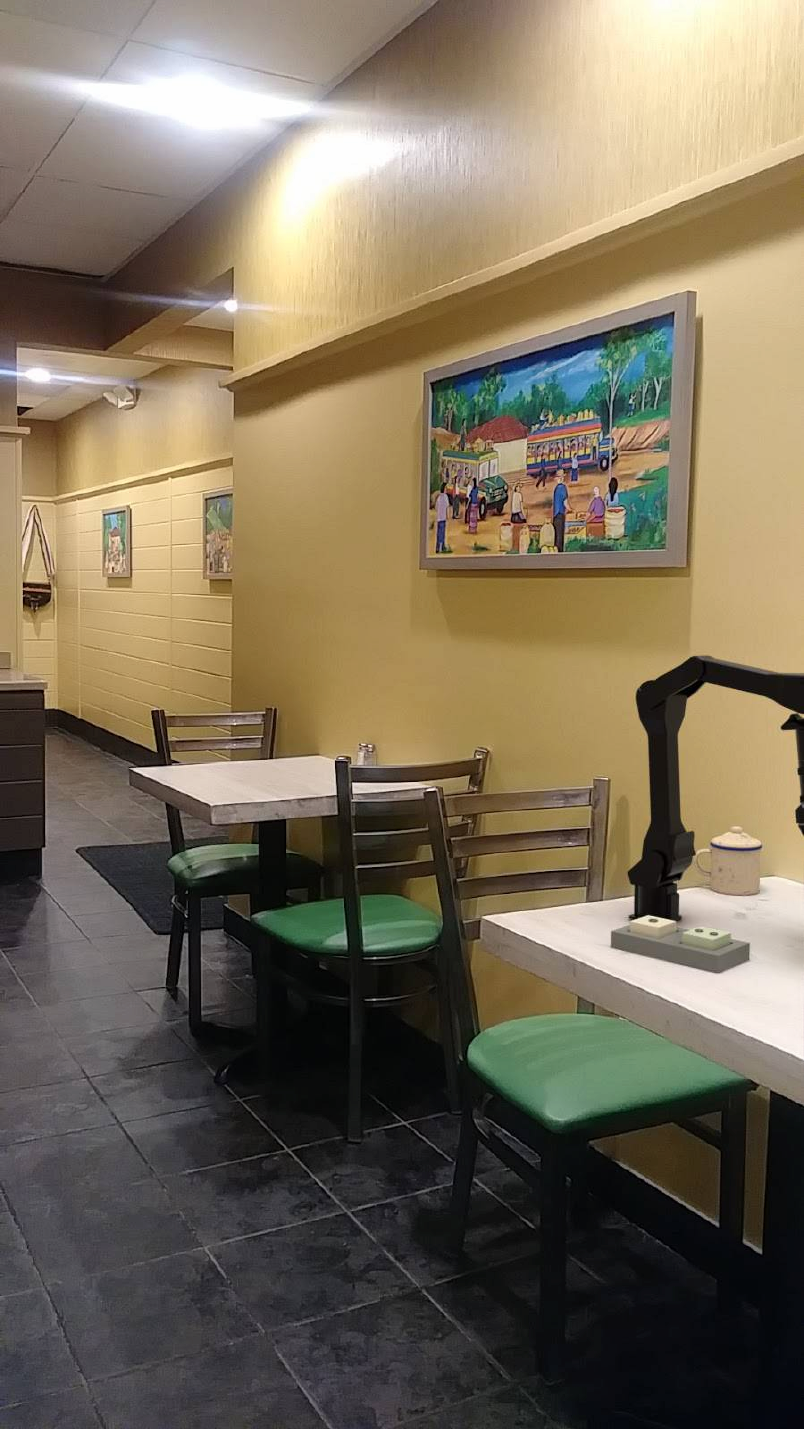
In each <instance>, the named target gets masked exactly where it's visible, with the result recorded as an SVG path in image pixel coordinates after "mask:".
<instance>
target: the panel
mask: <svg viewBox="0 0 804 1429" xmlns="http://www.w3.org/2000/svg"><path fill="white" fill-rule="evenodd" d="M689 930H690V929H687V928H684V927H678V926H677V927H676V933H673V934H671V935H668V936H665V937H662V938H660V939H658V938H654V937H650V936H645V935H641V934H637V933H632V932H630V924H628V925H625V926H623V927H619V928H616V929H612V930H610V948H612V949H617V950H620V951H625V952H629V953H632V954H637V955H642V956H645V957H650V958H654V959H658V960H661V961H666V962H668V963H669V962H671V963H674V964H679V965H682V966H688V967H691V968H695V969H699V970H703V971H707V972H712V973H715V974H720V973H722V972H724V971H726V970H729V969H731V968H733V967H736V966H738V965H740V964H742V963H745V962H747V961H750V948H751V947H750V945H751V944H750V942H747V941H742V940H739V939H733V938H731V940H730V945H728V946H726V947H723V948H721V949H718V950H716V951H711V950H706V949H702V948H698V947H693V946H689V945H685V944H682V933H683V932H686V931H689Z"/></svg>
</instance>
